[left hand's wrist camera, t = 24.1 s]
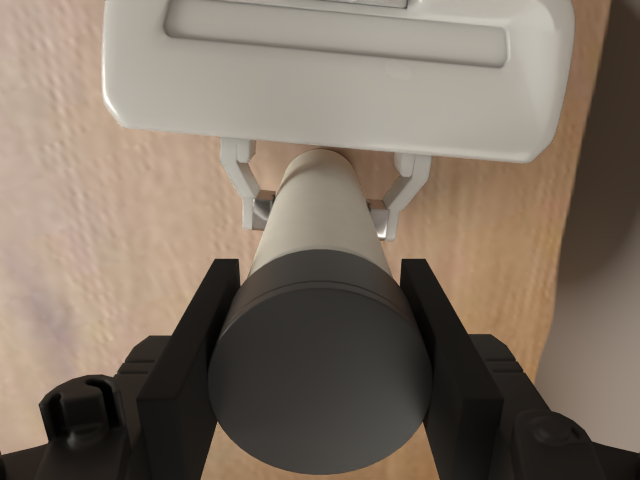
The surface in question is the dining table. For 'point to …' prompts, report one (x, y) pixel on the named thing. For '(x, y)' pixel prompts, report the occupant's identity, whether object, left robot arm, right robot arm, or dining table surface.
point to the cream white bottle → (320, 212)
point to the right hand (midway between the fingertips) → (319, 232)
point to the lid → (320, 365)
